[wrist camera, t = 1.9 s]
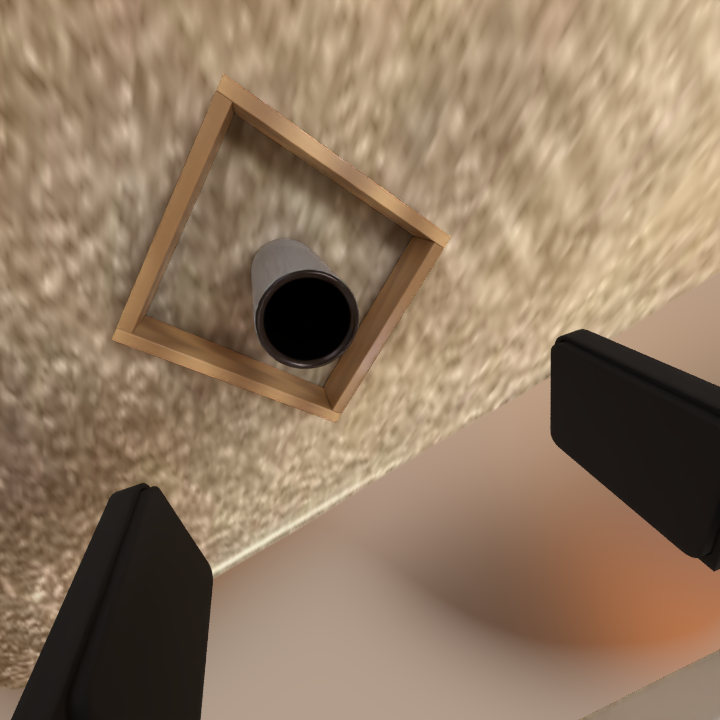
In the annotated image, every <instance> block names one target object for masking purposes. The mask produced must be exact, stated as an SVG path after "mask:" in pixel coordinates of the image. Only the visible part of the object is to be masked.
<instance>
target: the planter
mask: <svg viewBox="0 0 720 720" xmlns="http://www.w3.org/2000/svg"><path fill="white" fill-rule="evenodd" d="M251 283H252V297H253V311H254V324H255V330H256V334H257V337H258V339H259V342H260V344H261V345H262V347H263V348H264V350H265V351H266V352H267V353H268V354H269V355H270V356H271V357H272V358H274V359H275V360H276V361H278V362H280V363H282V364H284V365H286V366H289V367H293V368H299V369H312V368H317V367H321V366H324V365H327V364H329V363H331V362H333V361H334V360H336V359H337V358H339V357H340V356H341V355H342V354H343V353H344V352H345V351H346V350H347V349H348V348H349V346H350V345H351V343H352V342H353V340H354V338H355V335H356V333H357V329H358V324H359V310H358V305H357V302H356V299H355V297H354V295H353V293H352V292H351V290H350V289H349V288H348V286H347V285H346V284H345V283H344V282H343V281H342V280H341V279H340V278H339V277H338V276H337V275H336V274H335V273H334V272H333V271H332V270H331V269H330V268H329V267H328V266H327V265H326V264H325V263H324V262H323V261H322V260H321V259H320V258H319V257H318V256H317V255H316V254H315V253H314V252H313V251H312V250H311V249H310V248H309V247H308V246H306V245H305V244H303V243H301V242H299V241H297V240H293V239H287V238H282V239H276V240H273V241H270V242H268V243H267V244H265V245H264V246H263V247H262V248H261V249H260V250H259V251H258V252H257V254H256V255H255V257H254V260H253V263H252V267H251Z"/></svg>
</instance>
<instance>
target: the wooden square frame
mask: <svg viewBox="0 0 720 720" xmlns="http://www.w3.org/2000/svg"><path fill="white" fill-rule="evenodd" d="M234 113H235V114H236V115H237V116H239V117H240V118H242V119H243V120H245V121H246V122H248V123H249V124H251V125H252V126H254V127H255V128H257V129H258V130H260V131H261V132H262V133H264V134H265V135H267V136H268V137H270V138H271V139H273V140H274V141H276V142H277V143H279V144H280V145H282V146H283V147H284V148H286V149H287V150H289V151H290V152H292V153H293V154H295V155H296V156H298V157H299V158H301V159H302V160H304V161H305V162H306V163H308V164H309V165H311V166H312V167H314V168H315V169H317V170H318V171H320V172H321V173H323V174H324V175H326V176H327V177H329V178H330V179H331V180H333V181H334V182H336V183H337V184H339V185H340V186H342V187H343V188H345V189H346V190H348V191H349V192H351V193H352V194H353V195H355V196H356V197H358V198H359V199H361V200H362V201H364V202H365V203H367V204H368V205H370V206H371V207H373V208H374V209H375V210H377V211H378V212H380V213H381V214H383V215H384V216H386V217H387V218H389V219H390V220H392V221H393V222H395V223H396V224H398V225H399V226H400V227H402V228H403V229H405V230H406V231H408V232H409V233H411V234H412V235H414V236H413V238H412V239H411V241H410V243H409V244H408V246H407V248H406V249H405V251H404V253H403V254H402V256H401V258H400V259H399V261H398V263H397V264H396V266H395V268H394V270H393V271H392V273H391V275H390V276H389V278H388V280H387V281H386V283H385V285H384V286H383V288H382V290H381V291H380V293H379V295H378V296H377V298H376V300H375V302H374V303H373V305H372V307H371V308H370V310H369V312H368V313H367V315H366V317H365V318H364V320H363V322H362V323H361V325H360V327H359V328H358V330H357V333H356V335H355V338H354V340H353V342H352V343H351V345H350V346H349V348H348V349H347V350H346V351H345V352H344V354H343V355H342V357H341V359H340V360H339V362H338V364H337V366H336V367H335V369H334V371H333V372H332V374H331V376H330V377H329V379H328V381H327V382H326V384H325V386H324V388H323V387H321V386H318V385H316V384H313V383H311V382H308V381H306V380H303V379H301V378H299V377H296V376H294V375H291V374H289V373H286V372H284V371H281V370H279V369H276V368H274V367H272V366H269V365H267V364H264V363H262V362H259V361H257V360H254V359H252V358H249V357H247V356H245V355H242V354H240V353H237V352H235V351H232V350H230V349H227V348H225V347H223V346H220V345H218V344H215V343H213V342H210V341H208V340H205V339H203V338H200V337H198V336H196V335H193V334H191V333H188V332H186V331H183V330H181V329H178V328H176V327H173V326H171V325H169V324H166V323H164V322H161V321H159V320H156V319H154V318H151V317H149V316H146V314H147V311H148V309H149V307H150V305H151V302H152V300H153V298H154V295H155V293H156V291H157V289H158V286H159V284H160V282H161V279H162V277H163V275H164V273H165V270H166V268H167V266H168V263H169V261H170V259H171V257H172V254H173V252H174V250H175V248H176V245H177V243H178V241H179V238H180V236H181V234H182V232H183V229H184V227H185V225H186V222H187V220H188V218H189V216H190V213H191V211H192V209H193V206H194V204H195V202H196V200H197V197H198V195H199V193H200V190H201V188H202V186H203V184H204V181H205V179H206V177H207V174H208V172H209V170H210V168H211V165H212V163H213V161H214V158H215V156H216V154H217V152H218V149H219V147H220V145H221V143H222V140H223V138H224V136H225V133H226V131H227V129H228V127H229V124H230V122H231V120H232V117H233V115H234ZM450 238H451V237H450V236H449V235H448V234H446V233H445V232H444V231H442V230H441V229H439V228H438V227H437V226H435V225H434V224H432V223H431V222H430V221H428V220H427V219H425V218H424V217H423V216H421V215H420V214H418V213H417V212H416V211H414V210H413V209H411V208H410V207H409V206H407V205H406V204H405V203H403V202H402V201H400V200H399V199H398V198H396V197H395V196H393V195H392V194H391V193H389V192H388V191H386V190H385V189H384V188H382V187H381V186H379V185H378V184H377V183H375V182H374V181H372V180H371V179H370V178H368V177H367V176H366V175H364V174H363V173H361V172H360V171H359V170H357V169H356V168H354V167H353V166H352V165H350V164H349V163H347V162H346V161H345V160H343V159H342V158H340V157H339V156H338V155H336V154H335V153H333V152H332V151H331V150H329V149H328V148H327V147H325V146H324V145H322V144H321V143H320V142H318V141H317V140H315V139H314V138H313V137H311V136H310V135H308V134H307V133H306V132H304V131H303V130H301V129H300V128H299V127H297V126H296V125H294V124H293V123H292V122H290V121H289V120H288V119H286V118H285V117H283V116H282V115H281V114H279V113H278V112H276V111H275V110H274V109H272V108H271V107H269V106H268V105H267V104H265V103H264V102H262V101H261V100H260V99H258V98H257V97H255V96H254V95H253V94H251V93H250V92H249V91H247V90H246V89H244V88H243V87H242V86H240V85H239V84H237V83H236V82H235V81H233V80H232V79H230V78H229V77H228V76H226V75H225V74H223V75H222V78H221V80H220V82H219V85H218V87H217V91H216V92H215V94H214V97H213V99H212V101H211V104H210V106H209V108H208V111H207V113H206V116H205V118H204V120H203V123H202V125H201V127H200V130H199V132H198V135H197V137H196V139H195V142H194V144H193V146H192V149H191V151H190V154H189V156H188V158H187V161H186V163H185V165H184V168H183V170H182V173H181V175H180V177H179V180H178V182H177V184H176V187H175V189H174V192H173V194H172V196H171V199H170V201H169V203H168V206H167V208H166V211H165V213H164V215H163V218H162V220H161V222H160V225H159V227H158V230H157V232H156V234H155V237H154V239H153V241H152V244H151V246H150V249H149V251H148V253H147V256H146V258H145V260H144V263H143V265H142V268H141V270H140V272H139V275H138V277H137V279H136V282H135V284H134V287H133V289H132V291H131V294H130V296H129V298H128V301H127V303H126V306H125V308H124V310H123V313H122V315H121V317H120V320H119V322H118V325H117V328H116V330H115V332H114V334H113V337H112V340H113V341H116V342H119V343H122V344H124V345H127V346H130V347H132V348H135V349H138V350H141V351H143V352H146V353H149V354H151V355H154V356H157V357H160V358H162V359H165V360H168V361H170V362H173V363H176V364H178V365H181V366H184V367H187V368H189V369H192V370H195V371H197V372H200V373H203V374H206V375H208V376H211V377H214V378H216V379H219V380H222V381H225V382H227V383H230V384H233V385H235V386H238V387H241V388H244V389H246V390H249V391H252V392H254V393H257V394H260V395H263V396H265V397H268V398H271V399H273V400H276V401H279V402H281V403H284V404H287V405H290V406H292V407H295V408H298V409H300V410H303V411H306V412H309V413H311V414H314V415H317V416H319V417H322V418H325V419H328V420H330V421H333V422H337V420H338V419H339V417H340V415H341V413H342V412H343V411H344V409H345V407H346V406H347V404H348V403H349V401H350V399H351V398H352V396H353V395H354V393H355V391H356V390H357V388H358V386H359V385H360V383H361V382H362V380H363V378H364V377H365V375H366V374H367V372H368V370H369V369H370V367H371V365H372V364H373V362H374V361H375V359H376V357H377V356H378V354H379V353H380V351H381V349H382V348H383V346H384V344H385V343H386V341H387V340H388V338H389V336H390V335H391V333H392V332H393V330H394V328H395V327H396V325H397V323H398V322H399V320H400V319H401V317H402V315H403V314H404V312H405V311H406V309H407V307H408V306H409V304H410V302H411V301H412V299H413V298H414V296H415V294H416V293H417V291H418V290H419V288H420V286H421V285H422V283H423V281H424V280H425V278H426V277H427V275H428V273H429V272H430V270H431V269H432V267H433V265H434V264H435V262H436V260H437V259H438V257H439V256H440V254H441V252H442V251H443V248H445V246H446V245H447V243H448V241H449V240H450Z"/></svg>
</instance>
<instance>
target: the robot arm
mask: <svg viewBox="0 0 720 720" xmlns="http://www.w3.org/2000/svg"><path fill="white" fill-rule="evenodd" d="M551 436H552V439H553V441H554V442H555V444H556V445H557V446H558V447H559V448H560V449H562V450H563V451H564V452H565V453H566V454H567V455H569V456H570V457H571V458H572V459H574V460H575V461H576V462H577V463H578V464H579V465H581V466H582V467H583V468H584V469H585V470H586V471H588V472H589V473H590V474H591V475H592V476H594V477H595V478H596V479H597V480H598V481H599V482H601V483H602V484H603V485H604V486H605V487H607V488H608V489H609V490H610V491H612V492H613V493H614V494H615V495H616V496H617V497H618V498H620V499H621V500H622V501H623V502H624V503H625V504H627V505H628V506H629V507H630V508H631V509H633V510H634V511H635V512H636V513H637V514H638V515H640V516H641V517H642V518H643V519H644V520H646V521H647V522H648V523H649V524H650V525H652V526H653V527H654V528H655V529H656V530H658V531H659V532H660V533H661V534H662V535H664V536H665V537H666V538H667V539H668V540H669V541H670V542H672V543H673V544H674V545H675V546H676V547H678V548H679V549H680V550H681V551H683V552H684V553H685V554H687V555H689V556H691V557H694V558H698V559H700V560H701V561H702V562H703V563H704V564H706V565H707V566H708V567H709V568H710V569H712V570H713V571H716V570H718V569H720V387H719V386H717V385H714V384H712V383H710V382H707V381H705V380H703V379H700V378H698V377H696V376H693V375H691V374H689V373H686V372H684V371H682V370H679V369H677V368H675V367H672V366H670V365H668V364H665V363H663V362H660V361H658V360H656V359H654V358H651V357H649V356H647V355H644V354H642V353H640V352H637V351H635V350H633V349H630V348H628V347H626V346H623V345H621V344H619V343H616V342H614V341H612V340H609V339H607V338H605V337H602V336H600V335H598V334H595V333H593V332H591V331H588V330H585V329H580V330H577V331H574V332H571V333H568V334H565V335H563V336H560V337H558V338H557V340H556V342H555V345H554V346H552V348H551ZM212 586H213V576H212V570H211V567H210V565H209V563H208V562H207V560H206V559H205V557H204V556H203V554H202V552H201V551H200V549H199V548H198V546H197V545H196V543H195V542H194V540H193V539H192V537H191V536H190V534H189V533H188V531H187V530H186V528H185V527H184V525H183V524H182V522H181V520H180V519H179V517H178V516H177V514H176V513H175V511H174V510H173V508H172V507H171V505H170V504H169V502H168V501H167V499H166V498H165V496H164V495H163V493H162V492H161V490H160V489H159V488H158V487H156V486H153V487H149V485H147V484H145V483H141V484H138V485H135V486H132V487H129V488H126V489H124V490H121V491H118V492H115V493H114V494H112V495H111V497H110V498H109V501H108V503H107V505H106V507H105V510H104V512H103V514H102V516H101V519H100V521H99V523H98V525H97V528H96V530H95V532H94V534H93V537H92V539H91V541H90V543H89V545H88V548H87V550H86V552H85V554H84V557H83V559H82V561H81V563H80V566H79V568H78V570H77V572H76V575H75V577H74V579H73V581H72V584H71V586H70V588H69V590H68V593H67V595H66V597H65V599H64V602H63V604H62V606H61V608H60V611H59V613H58V615H57V617H56V620H55V622H54V624H53V626H52V629H51V631H50V633H49V635H48V638H47V640H46V642H45V644H44V647H43V649H42V651H41V653H40V656H39V658H38V660H37V662H36V665H35V667H34V669H33V671H32V674H31V676H30V678H29V680H28V683H27V685H26V687H25V689H24V692H23V694H22V696H21V698H20V701H19V703H18V705H17V708H16V710H15V712H14V714H13V717H12V719H11V720H200V718H201V707H202V697H203V685H204V675H205V664H206V652H207V641H208V629H209V619H210V608H211V597H212ZM580 720H720V650H718V651H716V652H714V653H712V654H710V655H708V656H706V657H704V658H702V659H700V660H698V661H696V662H694V663H692V664H690V665H687V666H686V667H683V668H681V669H679V670H678V671H675V672H673V673H671V674H669V675H667V676H665V677H663V678H661V679H659V680H657V681H656V682H653V683H652V684H649V685H648V686H645V687H643V688H641V689H639V690H638V691H636V692H634V693H632V694H630V695H628V696H626V697H624V698H622V699H620V700H618V701H616V702H614V703H612V704H610V705H608V706H606V707H604V708H602V709H600V710H598V711H596V712H594V713H592V714H590V715H588V716H586V717H584V718H582V719H580Z"/></svg>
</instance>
